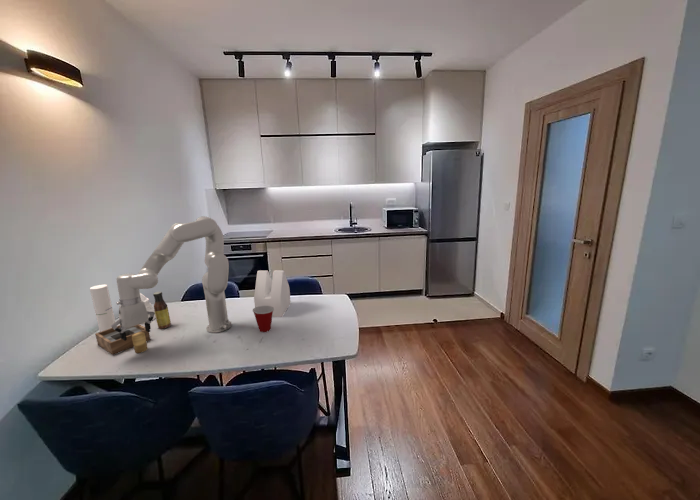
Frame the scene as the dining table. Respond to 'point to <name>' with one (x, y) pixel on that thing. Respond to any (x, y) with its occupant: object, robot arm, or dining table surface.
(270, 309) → the plastic cup
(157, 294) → the sauce bottle
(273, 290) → the white notched block
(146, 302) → the honey pot
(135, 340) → the peg
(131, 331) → the peg box
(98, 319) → the cylindrical container
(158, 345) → the dining table surface
